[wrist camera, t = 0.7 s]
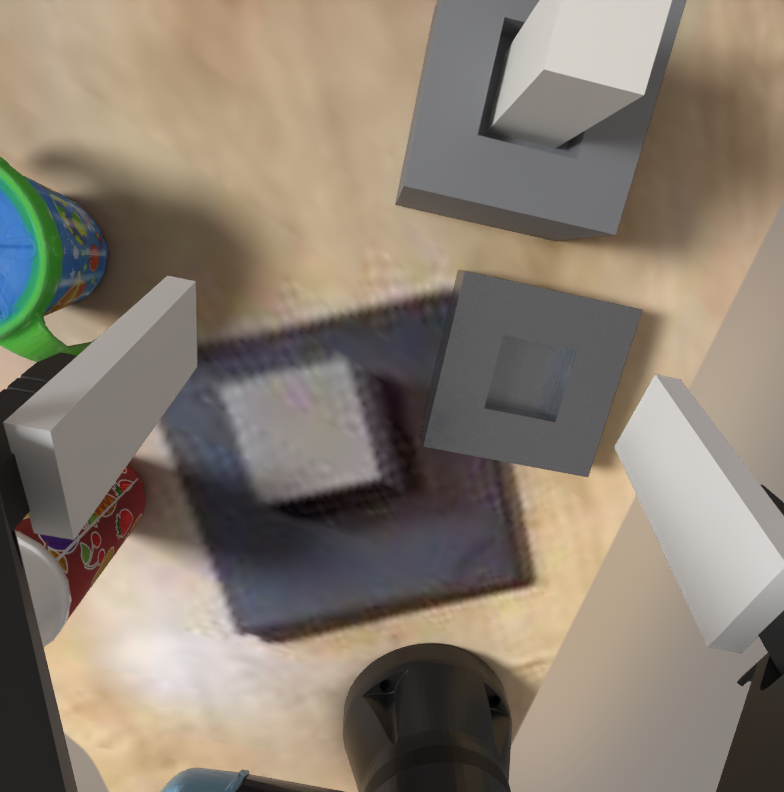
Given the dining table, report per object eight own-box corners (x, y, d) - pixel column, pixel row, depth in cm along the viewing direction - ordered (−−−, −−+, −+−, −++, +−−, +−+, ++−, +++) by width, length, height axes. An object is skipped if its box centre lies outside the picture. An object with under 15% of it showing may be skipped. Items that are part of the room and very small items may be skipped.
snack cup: (-74, 170, 36) (-241, 137, 26) (62, 106, 35) (-57, 47, 25) (51, 375, 40) (-54, 414, 30) (176, 321, 39) (111, 342, 29)
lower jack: (573, 462, 43) (588, 477, 40) (419, 433, 42) (423, 446, 39) (622, 306, 40) (642, 309, 37) (457, 270, 39) (465, 270, 36)
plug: (555, 148, 30) (644, 95, 20) (486, 132, 29) (543, 69, 20) (580, 50, 28) (688, -57, 19) (510, 31, 28) (583, -88, 18)
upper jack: (554, 240, 39) (615, 235, 29) (395, 204, 38) (403, 185, 28) (603, 61, 36) (689, -12, 26) (432, 16, 35) (456, -77, 25)
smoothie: (111, 420, 41) (-123, 566, 21) (184, 499, 43) (29, 697, 23) (33, 480, 42) (-258, 671, 22) (107, 554, 44) (-102, 789, 24)
